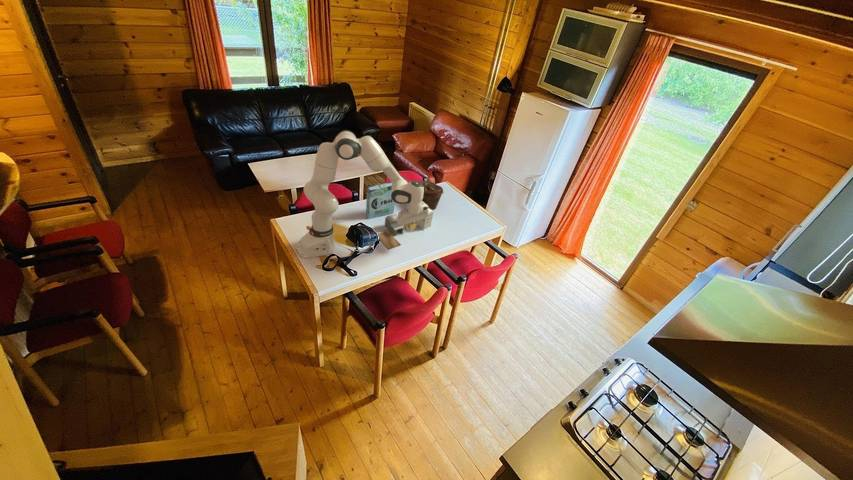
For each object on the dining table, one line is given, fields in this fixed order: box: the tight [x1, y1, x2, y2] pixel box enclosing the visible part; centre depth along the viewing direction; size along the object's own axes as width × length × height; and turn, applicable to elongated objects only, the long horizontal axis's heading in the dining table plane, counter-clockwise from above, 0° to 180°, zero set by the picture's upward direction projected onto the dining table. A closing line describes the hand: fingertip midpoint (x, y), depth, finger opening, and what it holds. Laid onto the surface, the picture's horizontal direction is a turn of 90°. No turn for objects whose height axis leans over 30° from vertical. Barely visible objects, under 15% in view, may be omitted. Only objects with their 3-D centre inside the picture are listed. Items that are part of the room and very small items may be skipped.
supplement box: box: [417, 208, 434, 230], centre depth 244 cm, size 7×7×13 cm
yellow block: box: [403, 221, 417, 232], centre depth 221 cm, size 12×4×4 cm, turn 36°
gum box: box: [365, 181, 396, 220], centre depth 244 cm, size 20×5×23 cm, turn 123°
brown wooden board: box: [377, 230, 402, 250], centre depth 230 cm, size 9×16×1 cm, turn 36°
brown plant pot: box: [419, 180, 444, 211], centre depth 262 cm, size 18×20×18 cm
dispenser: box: [384, 213, 405, 237], centre depth 236 cm, size 12×7×10 cm, turn 36°
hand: (411, 226), depth 219 cm, fingers closed on yellow block, 4 cm apart
